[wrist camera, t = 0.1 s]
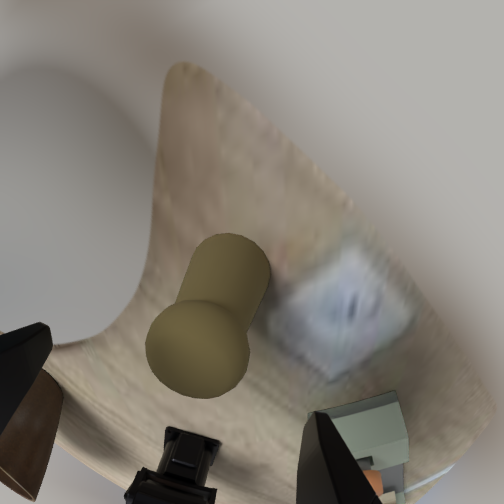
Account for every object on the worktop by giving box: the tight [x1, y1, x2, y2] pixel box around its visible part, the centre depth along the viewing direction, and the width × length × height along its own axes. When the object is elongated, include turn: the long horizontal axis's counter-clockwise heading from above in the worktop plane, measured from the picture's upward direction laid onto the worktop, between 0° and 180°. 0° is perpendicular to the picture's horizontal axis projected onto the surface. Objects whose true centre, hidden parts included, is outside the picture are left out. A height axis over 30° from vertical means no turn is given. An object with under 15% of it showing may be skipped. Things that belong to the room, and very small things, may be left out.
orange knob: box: [355, 457, 383, 497], centre depth 21 cm, size 3×3×4 cm
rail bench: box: [308, 391, 409, 504], centre depth 29 cm, size 30×9×6 cm, turn 21°
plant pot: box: [0, 369, 63, 502], centre depth 26 cm, size 15×15×16 cm
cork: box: [145, 233, 270, 399], centre depth 19 cm, size 6×6×11 cm
